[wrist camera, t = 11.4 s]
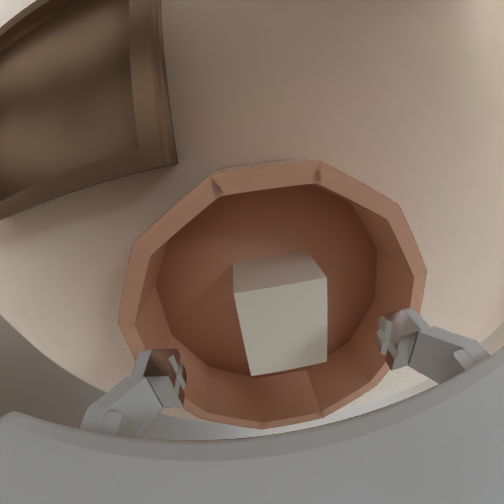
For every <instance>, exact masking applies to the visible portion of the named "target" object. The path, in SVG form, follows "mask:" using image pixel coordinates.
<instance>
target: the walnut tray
mask: <svg viewBox="0 0 504 504" xmlns="http://www.w3.org/2000/svg"><path fill="white" fill-rule="evenodd" d="M173 164H178V161H177V154H176V148H175V141H174V135H173V128H172V121H171V113H170V105H169V97H168V89H167V80H166V70H165V60H164V49H163V36H162V20H161V0H37V1H35V2H34V3H32V4H31V5H29V6H28V7H26V8H25V9H24V10H22V11H21V12H20V13H18V14H17V15H16V16H14V17H13V18H12V19H10V20H9V21H8V22H7V23H6V24H4V25H3V26H2V27H1V28H0V220H2V219H4V218H6V217H9V216H11V215H13V214H16V213H18V212H20V211H23V210H25V209H28V208H30V207H33V206H35V205H38V204H40V203H43V202H46V201H48V200H51V199H54V198H56V197H59V196H62V195H65V194H68V193H71V192H74V191H77V190H80V189H83V188H86V187H89V186H92V185H96V184H99V183H102V182H106V181H109V180H113V179H116V178H120V177H124V176H127V175H131V174H135V173H139V172H143V171H147V170H151V169H155V168H160V167H164V166H169V165H173Z"/></svg>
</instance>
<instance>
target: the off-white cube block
mask: <svg viewBox="0 0 504 504" xmlns="http://www.w3.org/2000/svg"><path fill="white" fill-rule="evenodd" d="M233 290H234V298H235V303H236V308H237V313H238V318H239V322H240V327H241V332H242V337H243V341H244V346H245V351H246V355H247V360H248V364H249V369H250V373H251V376H255V375H262V374H268V373H274V372H280V371H285V370H290V369H295V368H300V367H305V366H310V365H314V364H319V363H323V362H327V277H326V276H325V274H324V273H323V272H322V270H321V269H320V268H319V266H318V265H317V264H316V262H315V261H314V260H313V258H312V257H311V256H310V255H309V253H308V252H307V251H300V252H294V253H288V254H282V255H275V256H269V257H263V258H257V259H251V260H245V261H238V262H233Z"/></svg>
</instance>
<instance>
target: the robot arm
mask: <svg viewBox="0 0 504 504" xmlns="http://www.w3.org/2000/svg"><path fill="white" fill-rule="evenodd" d="M378 325H379V326H380V329H379V330H378V331H377V333H376V346H377V348H378V350H379V352H380V353H381V354H383V355H385V356H386V357H385V361H386V363H387V364H388V366H389V367H390V369H391V370H395V369H398V368H401V367H404V366H407V365H408V366H409V367H411V368H413V369H414V370H416V371H418V372H420V373H421V374H423V375H425V376H427V377H428V378H430V379H432V380H434V381H436V382H437V383H439V384H438V385H436V386H434V387H432V388H430V389H428V390H426V391H423V392H421V393H419V394H417V395H414V396H412V397H409V398H407V399H404V400H402V401H399V402H397V403H394V404H392V405H389V406H386V407H383V408H380V409H377V410H374V411H371V412H368V413H365V414H362V415H359V416H355V417H352V418H348V419H345V420H341V421H337V422H334V423H329V424H325V425H321V426H317V427H312V428H307V429H302V430H297V431H292V432H286V433H279V434H273V435H266V436H258V437H248V438H237V439H223V440H200V441H199V440H194V441H193V440H191V441H190V440H189V441H188V440H184V441H183V440H156V439H143V438H140V435H141V434H142V433H143V432H144V431H145V430H146V428H147V427H148V426H149V425H150V424H151V422H152V421H153V420H154V419H155V418H156V417H157V415H158V414H159V413H160V412H161V411H162V409H163V407H183V405H184V398H185V393H184V391H183V389H184V388H185V387H186V383H187V374H186V370H185V366H184V364H183V363H181V362H180V353H179V351H178V349H153V350H152V349H151V350H141V351H140V352H139V355H138V357H137V360H136V363H135V365H134V368H133V371H132V373H131V376H130V377H126V378H125V379H124V380H123V381H121V382H120V383H119V384H117V385H116V386H115V387H114V388H112V389H111V390H110V391H109V392H107V393H106V394H105V395H103V396H102V397H101V398H100V399H98V400H97V401H96V402H94V403H93V404H92V405H91V406H89V407H88V409H87V411H86V414H85V416H84V418H83V421H82V423H81V426H80V429H76V428H72V427H67V426H63V425H59V424H55V423H51V422H48V421H45V420H41V419H38V418H35V417H32V416H29V415H26V414H23V413H20V412H17V411H15V412H14V411H13V412H10V413H8V414H6V415H4V416H2V417H1V418H0V504H504V347H503V348H501V349H500V350H498V351H497V352H495V353H493V354H492V355H490V354H489V353H488V352H487V351H486V350H485V349H484V348H483V347H482V346H481V345H480V344H479V343H478V342H477V341H476V340H473V339H470V338H467V337H464V336H461V335H458V334H455V333H452V332H449V331H446V330H443V329H440V328H437V327H434V326H432V327H430V326H429V325H428V324H427V323H426V321H425V320H424V319H423V318H422V317H421V316H420V315H419V314H418V313H417V312H416V311H415V310H414V309H413V308H410V307H409V308H406V309H403V310H400V311H397V312H394V313H390V314H386V315H382V316H380V318H379V320H378Z"/></svg>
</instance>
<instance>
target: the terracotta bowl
mask: <svg viewBox="0 0 504 504" xmlns="http://www.w3.org/2000/svg"><path fill="white" fill-rule="evenodd" d="M300 251H307V252H308V253H309V255H310V256H311V257H312V258H313V260H314V261H315V262H316V264H317V265H318V266H319V268H320V269H321V270H322V272H323V273H324V274H325V276H326V277H327V362H323V363H319V364H314V365H310V366H305V367H300V368H295V369H290V370H285V371H280V372H274V373H268V374H262V375H255V376H251V373H250V369H249V364H248V360H247V355H246V351H245V346H244V341H243V337H242V332H241V327H240V322H239V318H238V313H237V308H236V303H235V298H234V290H233V262H238V261H245V260H251V259H257V258H263V257H269V256H275V255H282V254H288V253H294V252H300ZM426 273H427V270H426V267H425V264H424V262H423V259H422V256H421V254H420V251H419V249H418V246H417V244H416V242H415V239H414V237H413V234H412V232H411V230H410V228H409V225H408V223H407V221H406V219H405V217H404V214H403V212H402V210H401V208H400V206H399V204H397V203H396V202H394V201H392V200H391V199H389V198H387V197H386V196H384V195H382V194H381V193H379V192H377V191H375V190H374V189H372V188H370V187H368V186H367V185H365V184H363V183H361V182H359V181H358V180H356V179H354V178H352V177H350V176H348V175H346V174H345V173H343V172H341V171H339V170H337V169H335V168H333V167H331V166H329V165H327V164H325V163H323V162H321V161H312V160H293V159H290V160H281V161H272V162H264V163H256V164H249V165H242V166H235V167H229V168H222V169H217V170H216V171H215V172H213V173H212V174H211V175H210V176H208V177H207V178H206V179H205V180H203V181H202V182H201V183H200V184H199V185H197V186H196V187H195V188H194V189H193V190H192V191H190V192H189V193H188V194H187V195H186V196H185V197H183V198H182V199H181V200H180V201H179V202H178V203H177V204H175V205H174V206H173V207H172V208H171V209H170V210H169V211H168V212H166V213H165V214H164V215H163V216H162V217H161V218H160V219H159V220H158V221H157V222H155V223H154V224H153V225H152V226H151V227H150V228H149V229H148V230H147V231H146V232H145V233H144V234H143V235H142V236H141V237H140V238H139V239H137V240H136V241H135V242H134V243H133V247H132V251H131V255H130V260H129V264H128V269H127V274H126V279H125V284H124V289H123V294H122V300H121V306H120V312H119V319H118V323H119V326H120V328H121V330H122V332H123V335H124V337H125V339H126V341H127V344H128V346H129V348H130V350H131V352H132V354H133V356H134V358H135V360H137V357H138V355H139V352H140V351H141V350H151V349H152V350H153V349H178V351H179V353H180V362H181V363H183V364H184V366H185V370H186V374H187V383H186V387H185V388H184V389H183V391H184V393H185V398H184V405H183V407H182V408H184V409H185V410H187V411H189V412H190V413H192V414H193V415H195V416H196V417H198V418H200V419H205V420H209V421H214V422H219V423H224V424H229V425H235V426H241V427H247V428H254V429H268V428H274V427H281V426H286V425H292V424H297V423H302V422H306V421H311V420H316V419H320V418H324V417H325V416H327V415H329V414H331V413H333V412H335V411H336V410H338V409H340V408H342V407H343V406H345V405H347V404H348V403H350V402H352V401H353V400H355V399H357V398H358V397H360V396H361V395H363V394H365V393H366V392H368V391H369V390H371V389H372V388H374V387H375V386H377V385H378V384H379V382H380V381H381V380H382V379H383V377H384V376H385V375H386V374H387V372H388V371H389V370H390V367H389V366H388V364H387V363H386V361H385V357H386V356H385V355H383V354H381V353H380V352H379V350H378V348H377V346H376V333H377V331H378V330H379V329H380V326H379V325H378V320H379V318H380V316H382V315H386V314H390V313H394V312H397V311H400V310H403V309H406V308H409V307H410V308H413V309H414V310H415V311H416V312H417V313H418V314H419V315H420V310H421V305H422V299H423V293H424V287H425V280H426Z"/></svg>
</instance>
